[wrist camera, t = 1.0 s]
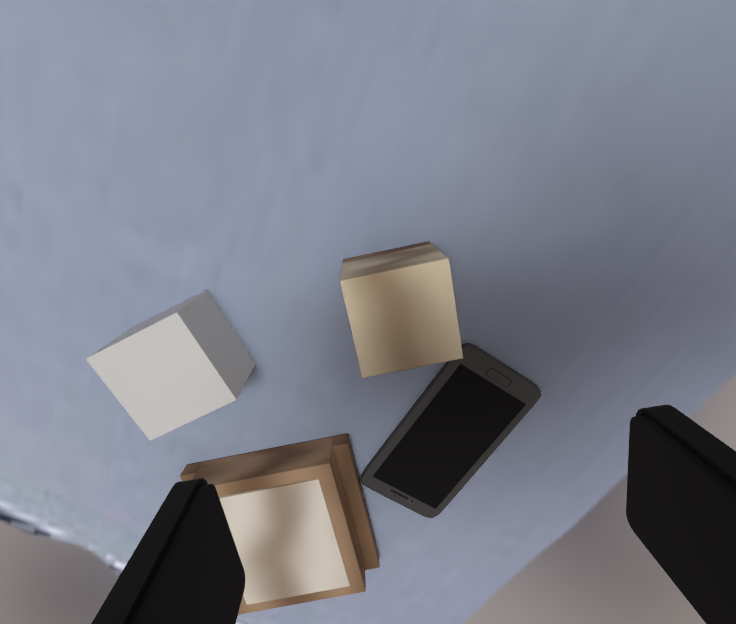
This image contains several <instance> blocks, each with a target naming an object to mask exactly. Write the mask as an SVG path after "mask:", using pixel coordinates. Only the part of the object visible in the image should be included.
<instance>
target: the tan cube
mask: <svg viewBox="0 0 736 624" xmlns="http://www.w3.org/2000/svg"><path fill="white" fill-rule="evenodd" d="M340 283H341V287H342V292H343V296H344V300H345V305H346V309H347V313H348V318H349V322H350V326H351V331H352V335H353V339H354V344H355V348H356V352H357V357H358V361H359V365H360V369H361V374H362V378H366V377H371V376H376V375H381V374H386V373H391V372H396V371H401V370H406V369H411V368H416V367H421V366H426V365H431V364H436V363H441V362H447V361H452V360H457V359H462V358H463V354H462V347H461V340H460V333H459V326H458V319H457V312H456V305H455V298H454V291H453V284H452V277H451V270H450V263H449V258H448V257H447V256H445V255H444V254H443V253H442V252H441V251H439V250H438V249H437V248H436V247H435V246H433V245H432V244H431V243H430V242H429V241H428V242H424V243H419V244H414V245H409V246H405V247H400V248H395V249H390V250H385V251H381V252H376V253H371V254H366V255H361V256H357V257H352V258H347V259H343V264H342V271H341V277H340Z"/></svg>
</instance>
